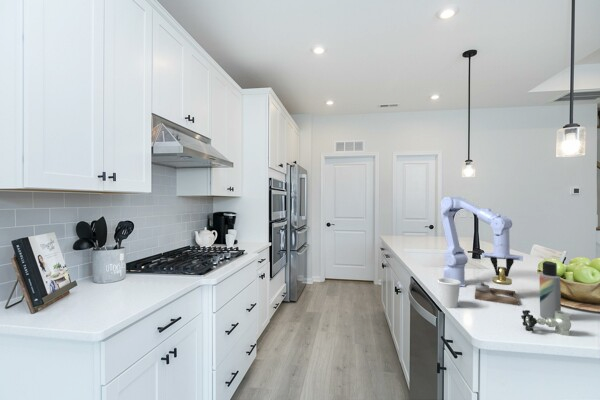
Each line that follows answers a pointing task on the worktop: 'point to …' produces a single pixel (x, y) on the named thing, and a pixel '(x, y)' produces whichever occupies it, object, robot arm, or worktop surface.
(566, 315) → the valve
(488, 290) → the carrier
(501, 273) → the brass flanged knob
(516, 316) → the worktop surface
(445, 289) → the dixie cup
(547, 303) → the lotion bottle
